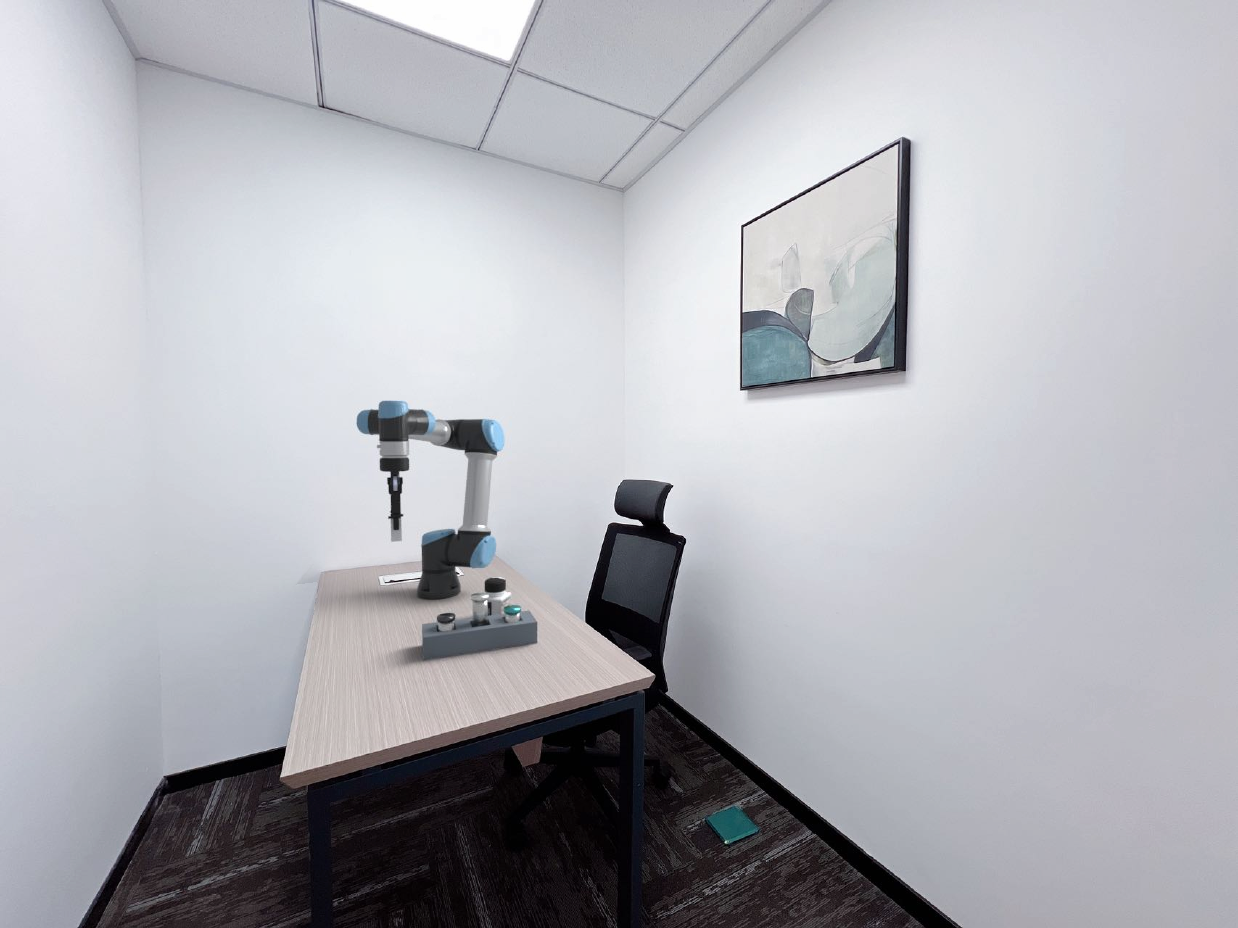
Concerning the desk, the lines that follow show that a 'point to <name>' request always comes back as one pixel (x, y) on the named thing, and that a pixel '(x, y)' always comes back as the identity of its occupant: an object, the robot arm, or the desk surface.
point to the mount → (478, 636)
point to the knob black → (446, 621)
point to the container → (497, 595)
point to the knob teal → (512, 613)
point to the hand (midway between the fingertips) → (396, 540)
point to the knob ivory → (480, 609)
